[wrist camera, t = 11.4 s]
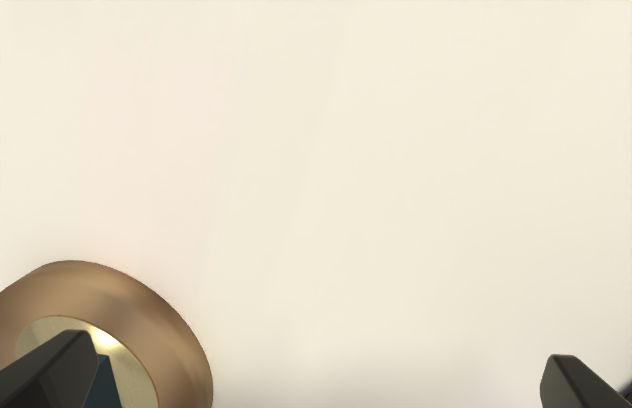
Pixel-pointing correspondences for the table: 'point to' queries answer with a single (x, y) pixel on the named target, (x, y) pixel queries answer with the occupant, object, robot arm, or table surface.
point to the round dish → (109, 331)
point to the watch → (103, 387)
